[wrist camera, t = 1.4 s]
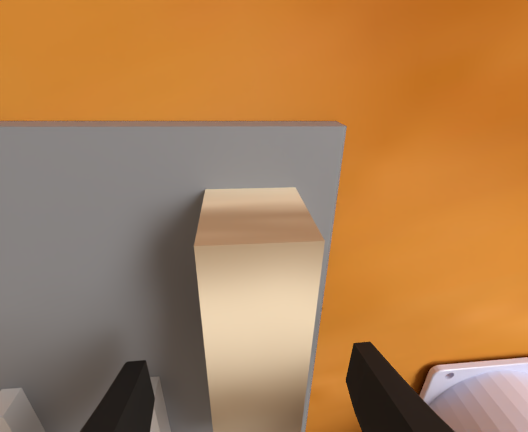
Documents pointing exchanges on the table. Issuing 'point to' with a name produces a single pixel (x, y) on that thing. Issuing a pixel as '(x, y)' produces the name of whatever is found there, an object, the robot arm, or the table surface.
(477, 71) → the table surface
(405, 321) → the table surface
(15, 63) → the table surface
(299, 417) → the slat
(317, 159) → the board
